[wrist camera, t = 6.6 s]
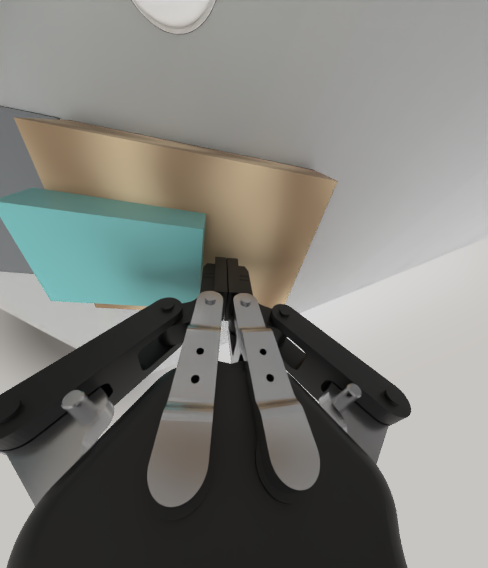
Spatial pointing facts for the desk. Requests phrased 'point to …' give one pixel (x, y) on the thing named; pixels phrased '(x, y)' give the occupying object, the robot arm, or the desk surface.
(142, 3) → the chess piece
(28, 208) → the block
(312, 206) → the tan wooden flat box
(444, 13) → the desk surface
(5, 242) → the mat
